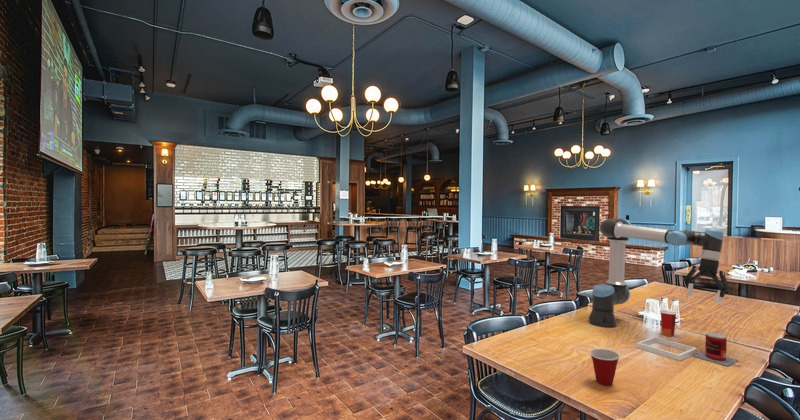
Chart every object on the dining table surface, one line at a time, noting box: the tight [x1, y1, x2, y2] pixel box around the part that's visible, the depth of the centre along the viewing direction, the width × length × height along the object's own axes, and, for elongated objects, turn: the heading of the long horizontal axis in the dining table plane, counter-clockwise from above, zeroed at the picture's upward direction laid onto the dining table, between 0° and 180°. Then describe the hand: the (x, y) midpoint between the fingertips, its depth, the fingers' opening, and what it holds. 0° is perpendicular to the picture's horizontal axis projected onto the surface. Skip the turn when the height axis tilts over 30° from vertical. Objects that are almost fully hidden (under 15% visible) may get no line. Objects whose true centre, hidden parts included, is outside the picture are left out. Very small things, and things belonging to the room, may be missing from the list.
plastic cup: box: [589, 348, 621, 387], centre depth 151 cm, size 11×11×12 cm
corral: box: [636, 336, 698, 362], centre depth 188 cm, size 19×19×2 cm
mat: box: [692, 350, 739, 368], centre depth 178 cm, size 13×13×1 cm
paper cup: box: [660, 308, 678, 337], centre depth 212 cm, size 8×8×14 cm
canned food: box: [704, 331, 728, 361], centre depth 178 cm, size 8×8×11 cm
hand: (703, 299), depth 195 cm, fingers open, 13 cm apart
